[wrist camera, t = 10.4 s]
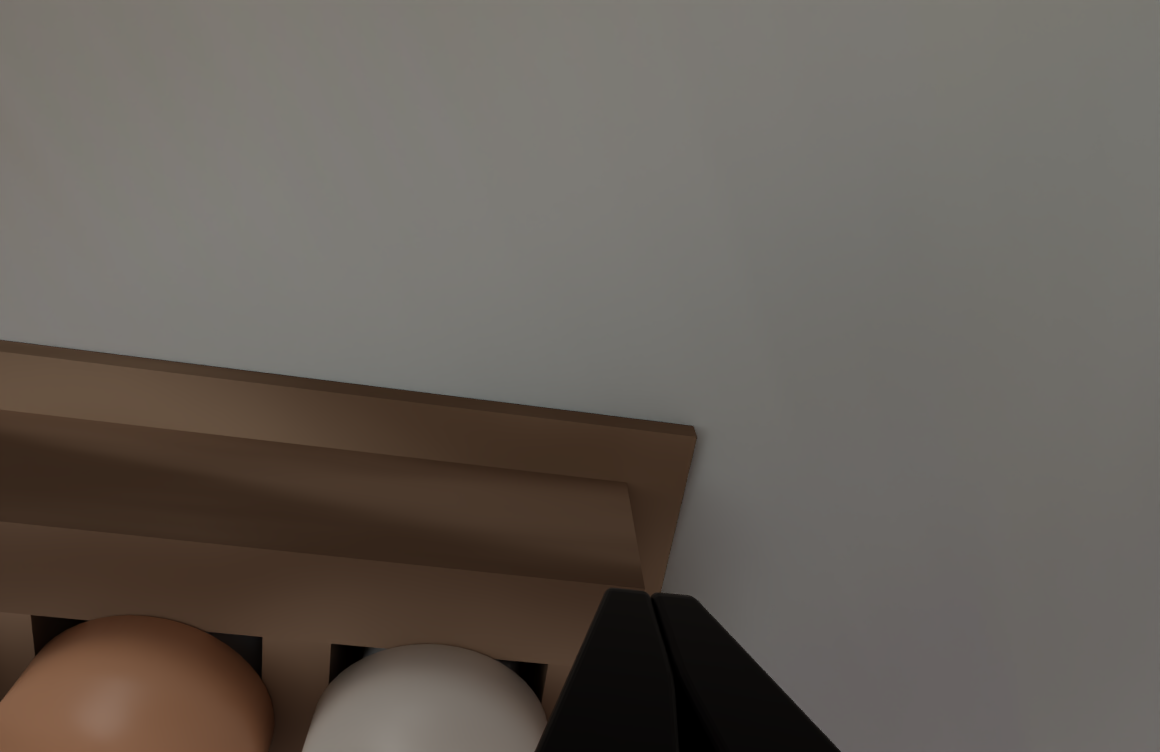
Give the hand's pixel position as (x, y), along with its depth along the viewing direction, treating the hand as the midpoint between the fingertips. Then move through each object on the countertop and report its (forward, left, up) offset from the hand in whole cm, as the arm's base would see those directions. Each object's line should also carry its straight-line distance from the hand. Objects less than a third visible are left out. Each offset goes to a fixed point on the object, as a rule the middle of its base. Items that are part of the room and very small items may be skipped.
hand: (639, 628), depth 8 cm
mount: (-10, +8, -13) cm, 18 cm away
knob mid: (-10, +8, -12) cm, 17 cm away
